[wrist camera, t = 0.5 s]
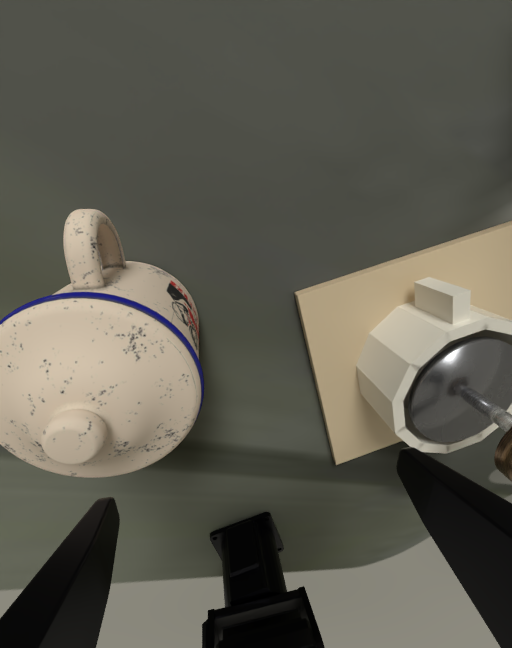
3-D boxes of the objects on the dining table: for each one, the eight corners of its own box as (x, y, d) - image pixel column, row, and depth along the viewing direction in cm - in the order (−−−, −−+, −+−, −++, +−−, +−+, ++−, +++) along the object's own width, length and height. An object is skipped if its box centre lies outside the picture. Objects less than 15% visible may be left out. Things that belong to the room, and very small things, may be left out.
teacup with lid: (206, 371, 23) (212, 514, 12) (81, 383, 22) (-32, 557, 11) (193, 206, 19) (185, 211, 8) (33, 208, 17) (-239, 216, 6)
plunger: (509, 414, 23) (618, 487, 17) (411, 451, 23) (486, 538, 17) (520, 319, 20) (660, 370, 14) (404, 360, 19) (496, 431, 13)
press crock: (496, 398, 30) (559, 440, 25) (332, 458, 29) (362, 514, 24) (512, 220, 23) (606, 225, 18) (294, 292, 22) (324, 320, 17)
